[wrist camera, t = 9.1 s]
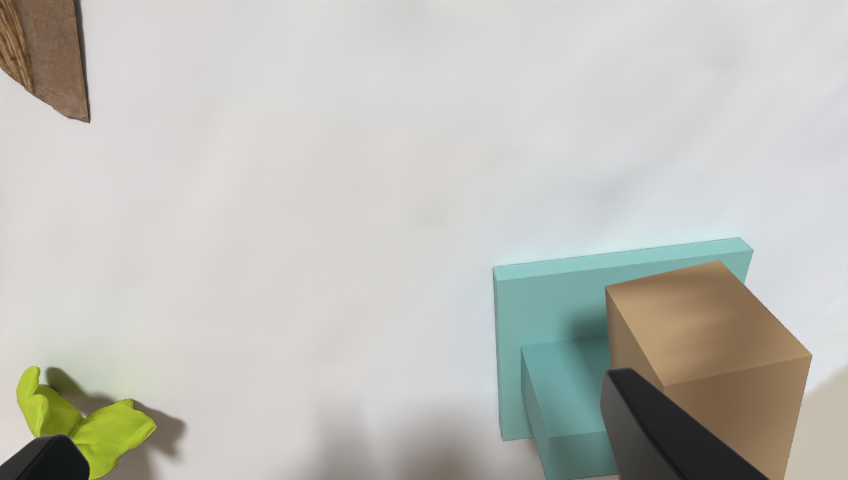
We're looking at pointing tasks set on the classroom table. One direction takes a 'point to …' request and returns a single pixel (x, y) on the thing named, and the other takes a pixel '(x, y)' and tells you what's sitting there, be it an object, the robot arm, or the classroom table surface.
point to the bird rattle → (83, 423)
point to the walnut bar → (713, 356)
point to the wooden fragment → (44, 52)
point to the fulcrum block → (573, 346)
